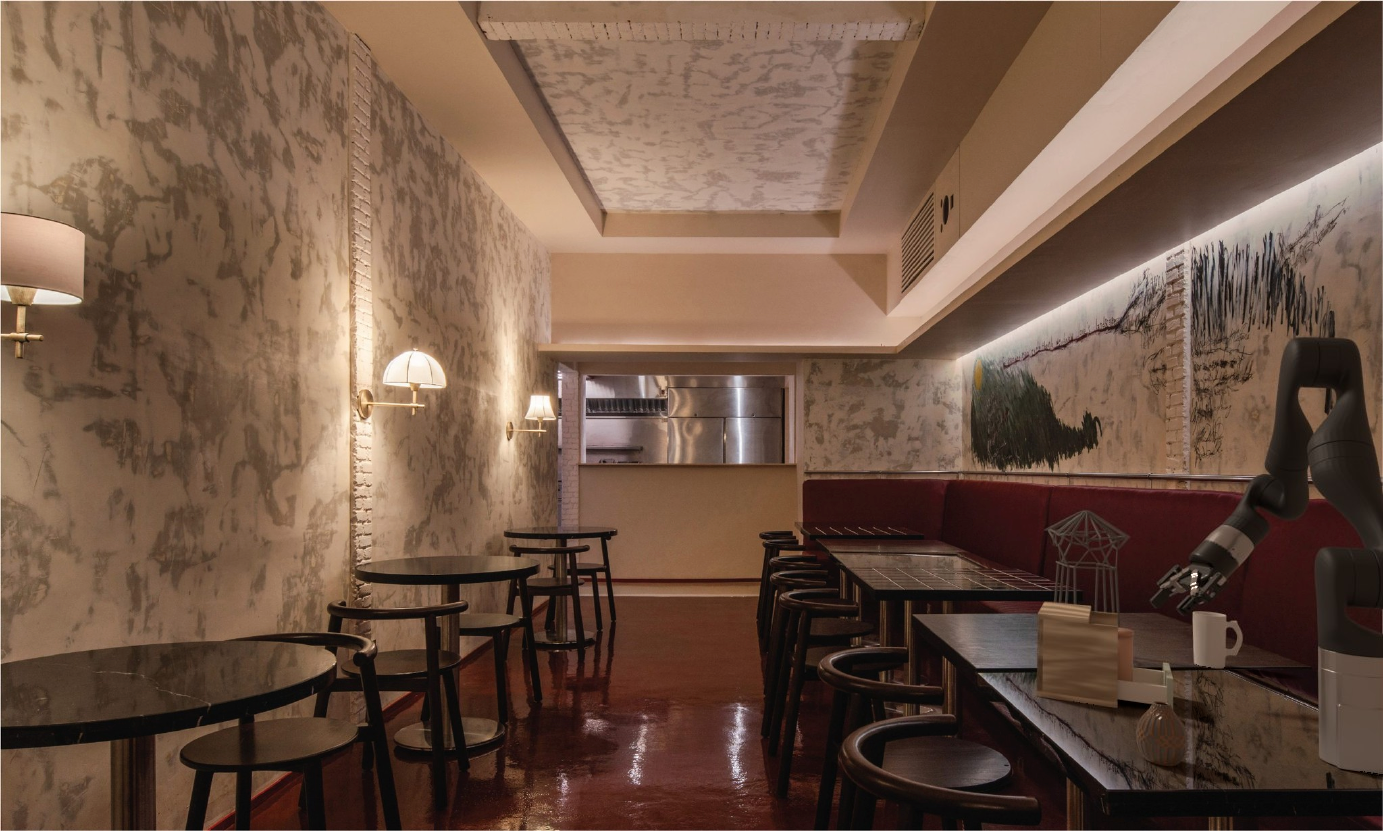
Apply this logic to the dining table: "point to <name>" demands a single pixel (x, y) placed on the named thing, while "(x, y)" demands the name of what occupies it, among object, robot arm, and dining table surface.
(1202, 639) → the mug
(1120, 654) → the canister
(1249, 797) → the dining table surface
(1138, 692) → the tray
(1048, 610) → the housing
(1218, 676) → the dining table surface
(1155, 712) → the vase
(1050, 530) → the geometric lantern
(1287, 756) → the dining table surface
